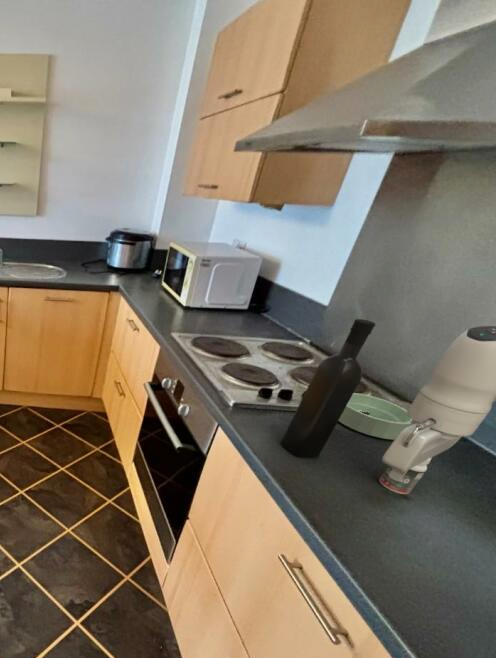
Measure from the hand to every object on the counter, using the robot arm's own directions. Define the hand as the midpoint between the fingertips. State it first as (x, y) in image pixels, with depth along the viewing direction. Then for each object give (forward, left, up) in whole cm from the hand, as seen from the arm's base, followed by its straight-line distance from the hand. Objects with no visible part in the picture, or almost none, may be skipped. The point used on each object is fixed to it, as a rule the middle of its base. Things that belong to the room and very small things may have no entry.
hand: (402, 474), depth 81 cm
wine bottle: (+15, +6, -3) cm, 16 cm away
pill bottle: (0, 0, -3) cm, 3 cm away
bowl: (+15, -23, -3) cm, 28 cm away
